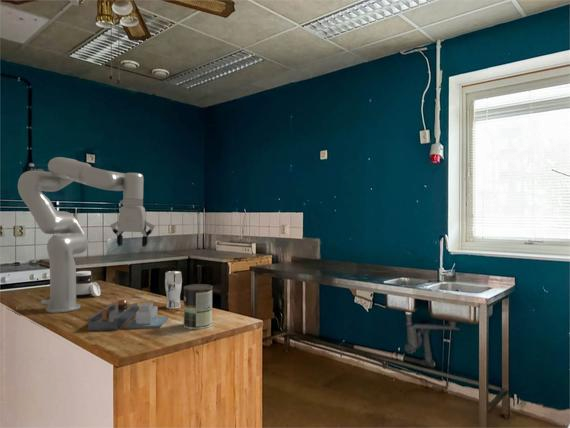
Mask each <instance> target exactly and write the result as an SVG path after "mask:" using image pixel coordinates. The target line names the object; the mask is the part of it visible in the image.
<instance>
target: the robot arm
mask: <svg viewBox="0 0 570 428" xmlns="http://www.w3.org/2000/svg"><path fill="white" fill-rule="evenodd" d="M47 167H48V168H47V169H48V171H44V170H34V169H33V170H28V171H25V172H23V173H22V174H21V175H20V177H19V178H18V181H17V182H18V183H17V190H18V194H19V196H20V198H21V199H22V201H23V203H24V204H25V205H26V207H27V208H28V210H29V211H30V213H31V216H32V217H33V219H34V220H35V222H36V224H37V225H38V228H39V229H40V231H41V232H42V233H44V234H46V235H52V236H51V237H50V238H49V239H48V240H47V243H46V250H47V254H48V255H47V256H48V260H49V261H48V262H49V291H50V293H49V299H41V302H40V305H41V306H47V307H46V308H45V311H46V312H47V313H50V314H51V313H52V314H53V313H54V314H55V313H56V314H57V313H59V314H60V313H68V312H72V311H76V310H79V309H81V304H80V303H77V298H76V272H77V266H76V262H75V259H74V255H79V254H82V253H84V252H86V250H87V249H88V247H89V240H88V237H87V235H86V233H85V231H84V230H83V227H82V226H81V225H80V223H79V221H78V219H77V218H76V217H75V216H74V214H72V213H71V212H69V211H60V210H59V211H58V209H56V208H55V206H54V205H53V203H52V201H51V200H50V198H48V197H47V196H46V194H44V193H43V192H51V193H52V192H53V193H54V192H57V191H60V190H62V189H63V188H65V187H67V186H69V185H70V184H71V183H73V182H75V183H79V184H83V185H85V186H89V187H93V188H96V189H101V190H104V191H113V192H123V193H122V195H123V199H121V200H119V204H121V205H122V206H120V209H119V214H118V221H116V222H114V223H112V224H110V228H111V230H112V233H114V235H115V236H116V243H117V246H118V247H122V246H123V243H124V242H123V238H124V236H123V235H122V234H123V233H124V232H126V233H127V232H129V233H141V234H142V235H143V236H142V238H141V240H142V241H141V242H142V243H141V246H142V247H147V245H148V241H149V239H148V237H149V235H151V234H152V233H153V230H154V229H155V227H156V226H155V225H154V224H152V223H150V222H148V221H147V214H146V208H145V207H144V181H145V179H144V175H143V174H142V173H139V172H125V173H124V172H118V171H112V170H106V169H101V168H97V167H93V166H92V165H91V164H89V163H88V162H83V161H79V160H77V159H73V158H68V157H62V156H60V157H59V156H57V157H53V158H51V159H50V160H49V161H48V163H47ZM147 227H148V228H149V229H147Z"/></svg>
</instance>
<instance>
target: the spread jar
mask: <svg viewBox="0 0 570 428" xmlns="http://www.w3.org/2000/svg"><path fill="white" fill-rule="evenodd" d="M101 294H102V293H101V287H100V285H99V283H98V282H96V281H95V282H93V277H92V271H91V270H82V271H81V270H80V271H79V270H78V271H76V299H77V298H78V299H81V298H89V297H91V296H93V297H95V298H97V297H100V296H101Z"/></svg>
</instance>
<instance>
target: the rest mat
mask: <svg viewBox="0 0 570 428" xmlns="http://www.w3.org/2000/svg"><path fill="white" fill-rule="evenodd" d="M168 319H169V316H158V318H157V319H156V320H155V321H154V322H153V323H152V324H151V325H136V317H133V318H132V319H131V321H130V322H129V323H128V322H127V323H126V324H125V326H124V329H126V330H127V329H160V328H161V327H162V326H163V325H164V324H165V323H166V322H167V320H168Z"/></svg>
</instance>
